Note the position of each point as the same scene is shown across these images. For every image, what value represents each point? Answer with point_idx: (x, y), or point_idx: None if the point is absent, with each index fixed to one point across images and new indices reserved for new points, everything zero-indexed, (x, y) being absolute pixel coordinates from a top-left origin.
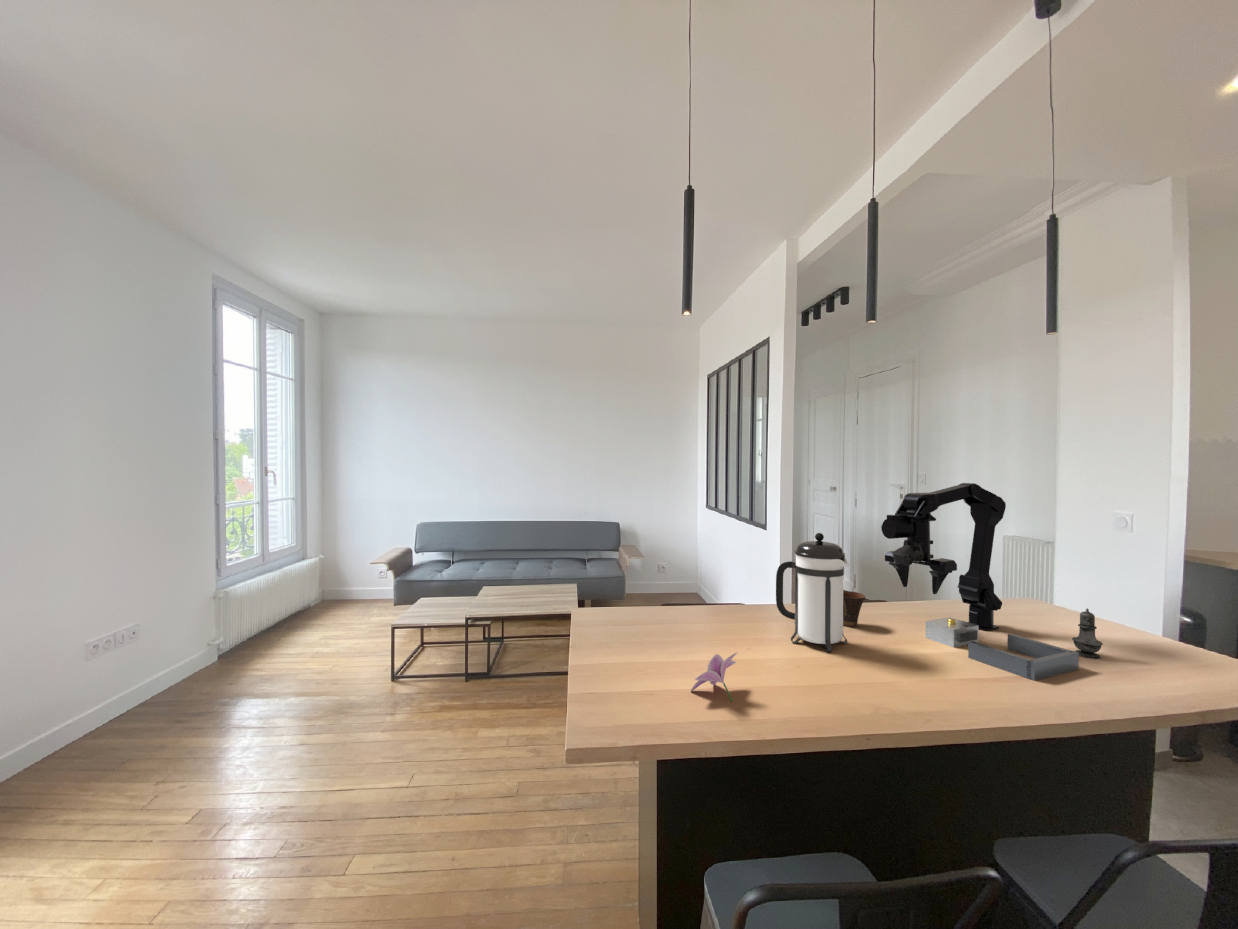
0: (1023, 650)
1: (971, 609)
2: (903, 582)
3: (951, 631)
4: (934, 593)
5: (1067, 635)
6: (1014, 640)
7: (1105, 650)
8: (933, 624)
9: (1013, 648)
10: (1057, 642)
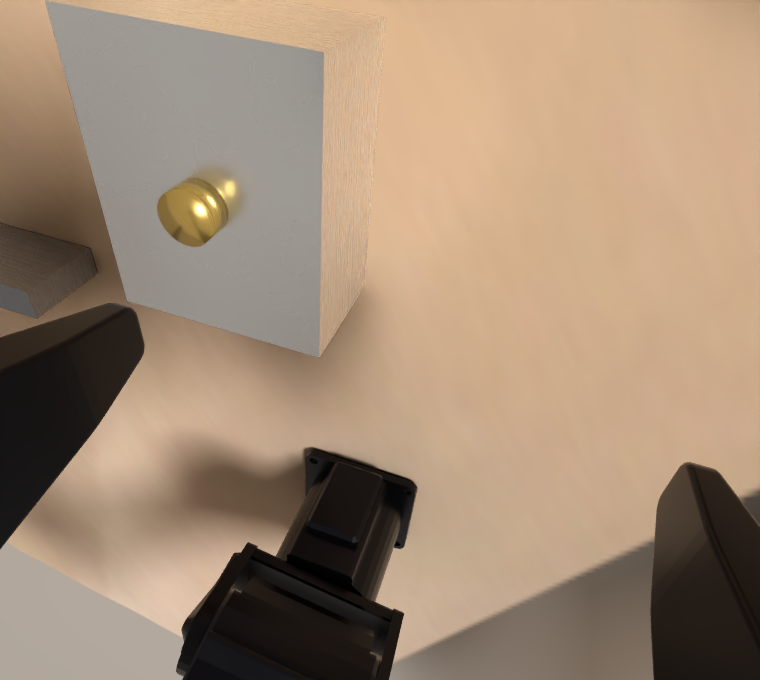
0: (11, 240)
1: (343, 553)
2: (716, 534)
3: (82, 2)
4: (103, 310)
5: (188, 545)
6: (14, 269)
7: (63, 470)
8: (243, 35)
9: (53, 247)
10: (140, 467)
